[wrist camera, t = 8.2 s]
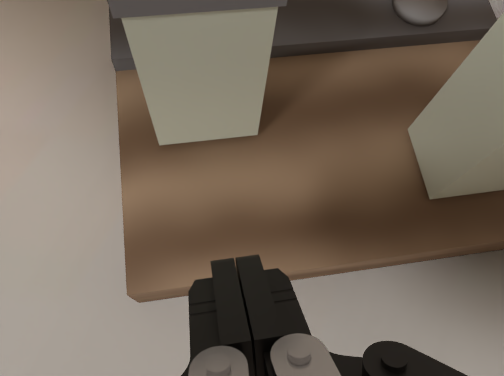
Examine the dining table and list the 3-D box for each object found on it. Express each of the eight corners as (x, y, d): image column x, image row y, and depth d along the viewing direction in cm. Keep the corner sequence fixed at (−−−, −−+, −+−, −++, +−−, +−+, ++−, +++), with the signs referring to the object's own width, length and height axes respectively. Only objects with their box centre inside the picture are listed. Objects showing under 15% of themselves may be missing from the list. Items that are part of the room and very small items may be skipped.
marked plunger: (261, 138, 22) (291, -25, 13) (155, 149, 22) (103, -13, 12) (249, 67, 24) (267, -126, 14) (149, 75, 23) (98, -120, 14)
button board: (532, 245, 24) (597, 221, 20) (138, 302, 22) (118, 290, 18) (445, 22, 30) (482, -33, 26) (124, 48, 28) (105, -9, 23)
